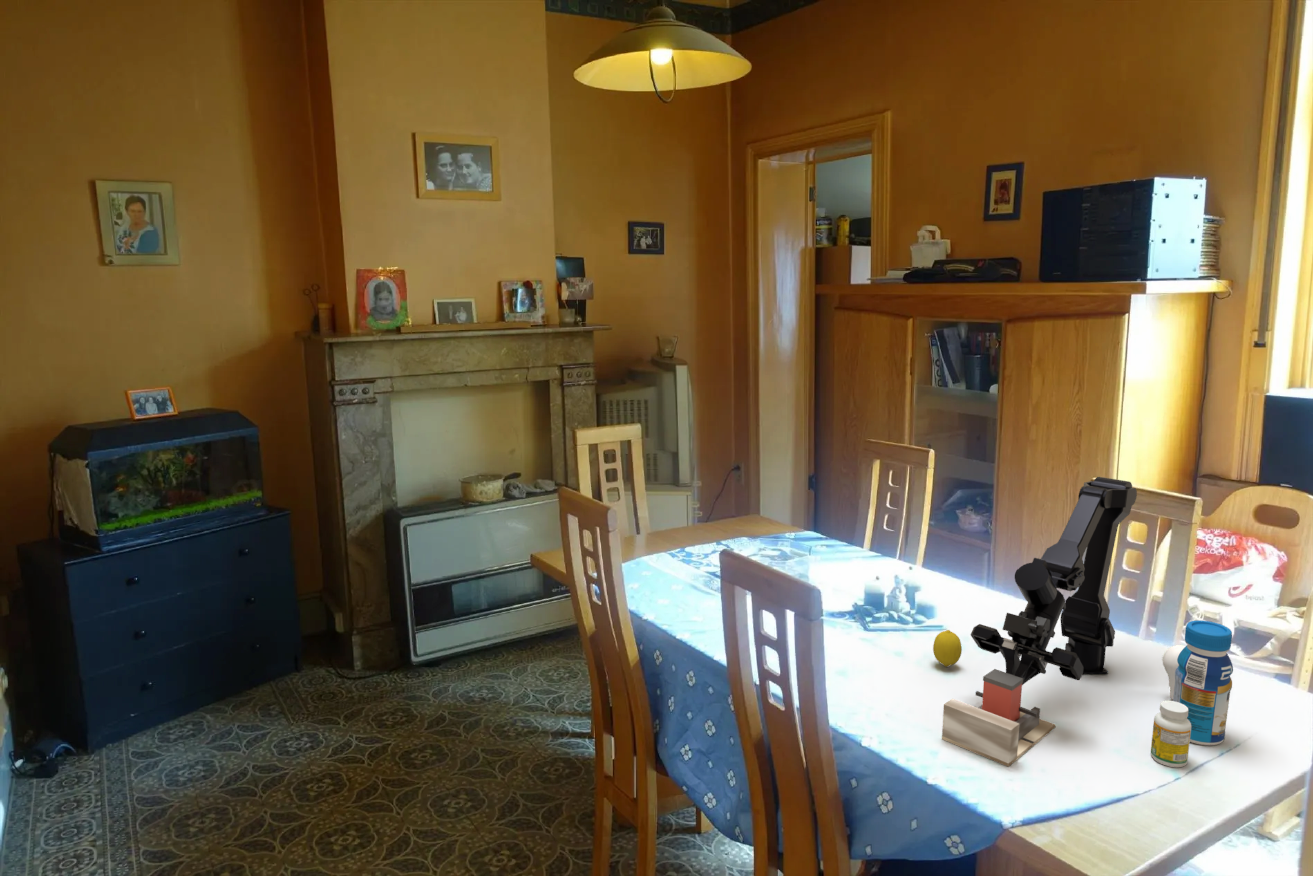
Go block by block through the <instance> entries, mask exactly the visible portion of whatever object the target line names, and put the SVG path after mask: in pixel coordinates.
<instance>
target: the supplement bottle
mask: <svg viewBox="0 0 1313 876" xmlns="http://www.w3.org/2000/svg"><path fill="white" fill-rule="evenodd" d="M1187 717H1188V708H1187V707H1186V706H1185V705H1183V704H1181V703H1179V702H1175V701H1173V700H1163V701H1160V704H1159V712H1158V713H1156V714H1155V715H1154V718H1153V726H1152V727H1153V728H1152V737H1151V746H1150V757H1152V758H1153V760H1154V761H1156V763H1158V764H1161V765H1162V766H1163V765H1164V766H1165V767H1171V768H1182V767H1184V766H1186V765H1187V764H1188V758H1189V750H1190V743H1191V742H1190V734H1191V723H1190V721H1189V720H1188V719H1187Z"/></svg>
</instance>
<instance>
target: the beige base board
mask: <svg viewBox="0 0 1313 876" xmlns="http://www.w3.org/2000/svg"><path fill="white" fill-rule="evenodd" d="M1030 710H1031V711H1034V712H1037V717H1034V716H1031V715H1028V714H1026V713H1023V712H1020V718H1019V719H1018V720H1017V721H1015V722H1014V721H1011V720H1009V719H1006V718H1003V717H1001V716H998V715H995V714H993V713H990V712H987V711H985V710H982V704H981V705H980V706H978V707H976V706H973V705H972V704H969V703H966V702H963V701H961V700H958V699H956V698H951V699H949V700H948V701H947V702H945V703H944V704H943V714H942V729H941V730H942V731H941V740H942V741H945V742H947V743H950V744H953V745H954V746H955V745H956V746H957V747H960V748H962V749H965V750H967V751H970V752H971V753H975V754H976V755H979V756H980V757H981V756H982V757H983V758H987V759H989V760H991V761H994V762H995V763H998V764H1001V765H1004V766H1006V767H1007V768H1009V767H1010V766H1012V765H1013V764H1014V763H1015V762H1016V761H1017V760H1019V759H1020V758H1021V757H1023V755H1025V754H1026V753H1027V752H1029V750H1031V749H1032V748H1033V747H1034V746H1035V745H1037V744H1038V743H1040V741H1042V740H1043V738H1045V737H1046V736H1047V735H1049V734H1050V733H1051V732H1053V730H1054V729H1056V724H1055V723H1054V722H1050V721H1048V720H1045V719H1042V718H1040V715H1041V708H1039V707H1036V706H1033V707H1032V708H1031V709H1030Z"/></svg>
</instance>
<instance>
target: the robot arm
mask: <svg viewBox="0 0 1313 876" xmlns="http://www.w3.org/2000/svg"><path fill="white" fill-rule="evenodd" d="M1137 494H1138V490H1137V489H1136V487H1133V485H1132V482H1131V481H1129V480H1127V481H1126V480H1121V479H1117V478H1108V477H1102V476H1097V477H1095V479H1094V480H1089V481H1085V482H1083V486H1081V488H1080V489H1079V492H1078V497H1077V498H1078V499H1077V502H1076V505H1075V507H1074V508H1073V510H1072V512H1071V515H1070V517H1069V519H1068V521H1067V523H1066V525H1065V527H1064V530H1063V531H1062V534H1061V536H1060V537H1059V539H1058V541H1057V542H1056V543H1054V544H1052V545H1051V546H1049V547H1047V548H1046V549H1045V550H1044V552H1043V555H1042V556H1041V557H1040V558H1039V557H1038V558H1037V557H1033V559H1032V561H1031V562H1028V563H1025V564H1022V565H1021V566H1020V567H1019V568H1017V569H1016V571H1015V573H1014V581H1015V583H1016V586H1017V587H1018V589H1019V591H1020V593H1021V595H1022V597H1023V598H1024V600H1025V601H1026V602H1027V604H1026V606H1025V609H1023V610H1020V612H1019V613H1018V615H1017V614H1013V613H1009V612H1006V614H1005V618H1004V623H1003V626H1002V630H1003V631H1005V632H1007V635H1008V637H1009V638H1011V639H1009V638H1005V637H1003V636H1002V635H1001V634H1000V631H998V629H997V628H995V627H991V626H988V625H984V624H981V623H979V624H977V625H975V626H973V628H972V630H971V633H970V637H971V638H972V640H973V641H974V643H975V644H976V645H977V647H978V649H981V650H982V651H986V652H989V653H992V654H997V653H1000V654H1001V655H1002V657H1003V658H1004V660H1005V673H1008V674H1011V675H1014V676H1017V677H1020V678H1023V683H1022V686H1024V684H1026V683H1027V682H1028V681H1030V680H1031V679H1033V678H1034V677H1036V676H1038V675H1039V674H1043V675H1045V674H1046V673H1047V670H1046V668H1047V665H1048V664H1049V665H1053V666H1056V667H1059V668H1058V670H1059V671H1060V673H1061V675H1062V676H1063V677H1066V678H1069V679H1072V680H1075V681H1081V679H1082V676H1083V674H1085V675H1086V674H1087V675H1088V674H1089V675H1090V674H1091V675H1093V674H1094V675H1095V674H1096V675H1106V674H1107V675H1108V670H1107V668H1105V660H1106V651H1107V650H1106V649H1107V648H1109V647H1111V648H1112V647H1113V646H1114V640H1115V635H1116V630H1115V629H1114V626H1113V624H1112V622H1111V620H1110V613H1111V609H1110V606H1109V603H1108V602H1107V600H1106V597H1105V593H1106V592H1105V590H1106V588H1107V587H1106V586H1107V582H1108V576H1109V572H1110V567H1111V562H1112V558H1113V557H1112V556H1113V552H1114V547H1115V543H1116V538H1117V534H1118V528H1119V525H1120V524H1121V522H1123V521H1124V520H1125V519H1126V518H1127V517H1128V516H1129V515H1130V514H1131V511H1132V507H1133V505H1134V504H1135V503H1136V500H1137V496H1138V495H1137ZM1084 554H1085V556H1084ZM1083 557H1084V561H1083ZM1058 589H1059V590H1058ZM1060 590H1064V591H1067V592H1073V591H1075V592H1074V593H1073V594H1072V595H1071V596H1068V597H1067V598H1066V599H1065V597H1064V594H1062V592H1061V591H1060ZM1076 590H1077V591H1076ZM1059 619H1060V630H1061V636H1062V637H1066V638H1068V639H1067V640H1068V641H1067V642H1066V643H1065V644H1064V645H1065V647H1064V648H1065V649H1064V648H1059V647H1055V648H1053V649H1052V652H1051V651H1048V650H1047V647H1048V644H1049V642H1050V639H1053V638H1054V637H1055V634H1056V632H1055V628H1056V626H1057V623H1058V620H1059Z"/></svg>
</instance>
